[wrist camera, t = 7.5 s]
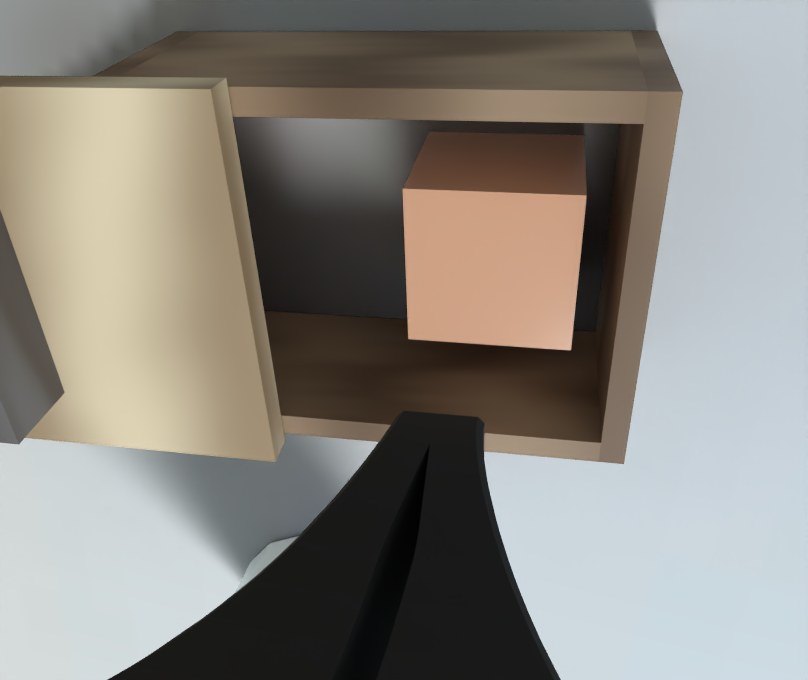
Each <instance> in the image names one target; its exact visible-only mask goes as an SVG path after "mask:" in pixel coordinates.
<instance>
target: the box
mask: <svg viewBox="0 0 808 680" xmlns="http://www.w3.org/2000/svg"><path fill="white" fill-rule="evenodd" d="M92 77H192V78H226V80H227V86H228V92H229V98H230V104H231V110H232V117H283V118H338V119H394V120H449V121H504V122H560V123H615V124H620V128H619V137H618V145H617V154H616V162H615V171H614V179H613V188H612V197H611V205H610V214H609V222H608V231H607V239H606V248H605V256H604V265H603V273H602V282H601V291H600V299H599V308H598V316H597V325H596V332H594V331H578V330H573V336H572V345H571V350H557V349H543V348H528V347H514V346H500V345H486V344H471V343H457V342H443V341H429V340H415V339H408V320H402V319H386V318H370V317H355V316H339V315H323V314H307V313H291V312H275V311H264V314H265V320H266V326H267V333H268V339H269V345H270V351H271V357H272V363H273V370H274V376H275V382H276V388H277V394H278V400H279V407H280V413H281V419H282V425H283V431H284V433H287V434H298V435H309V436H320V437H331V438H343V439H354V440H365V441H376V442H379V441H380V440H381V439H382V437H383V436H384V434H385V433H386V431H387V430H388V428H389V427H390V426H391V424H392V422H393V421H394V419H395V418H396V416H397V415H398V414H400V413H401V412H402V411H415V412H426V413H438V414H450V415H462V416H473V417H479V418H480V419H481V420H482V421H483V422H484V423H485V435H484V451H486V452H497V453H508V454H519V455H530V456H541V457H552V458H564V459H575V460H586V461H597V462H608V463H619V464H624V459H625V453H626V447H627V440H628V434H629V428H630V421H631V415H632V409H633V402H634V396H635V390H636V384H637V377H638V371H639V365H640V358H641V352H642V346H643V339H644V333H645V327H646V321H647V314H648V308H649V302H650V295H651V289H652V283H653V277H654V270H655V264H656V258H657V251H658V245H659V239H660V232H661V226H662V220H663V214H664V207H665V201H666V195H667V188H668V182H669V176H670V169H671V163H672V157H673V151H674V144H675V138H676V132H677V125H678V119H679V113H680V106H681V100H682V94H683V91H682V89H681V86H680V84H679V81H678V79H677V77H676V74H675V72H674V69H673V67H672V65H671V62H670V60H669V57H668V55H667V53H666V50H665V48H664V45H663V43H662V41H661V38H660V36H659V33H658V31H280V32H176V33H174V34H172V35H170V36H168V37H166V38H164V39H163V40H161V41H159V42H157V43H155V44H153V45H151V46H149V47H147V48H145V49H144V50H142V51H140V52H138V53H136V54H134V55H132V56H130V57H128V58H126V59H125V60H123V61H121V62H119V63H117V64H115V65H113V66H111V67H109V68H108V69H106V70H104V71H102V72H100V73H98V74H96V75H94V76H92Z"/></svg>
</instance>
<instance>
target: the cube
mask: <svg viewBox="0 0 808 680" xmlns="http://www.w3.org/2000/svg"><path fill="white" fill-rule="evenodd" d="M586 198H587V190H586V164H585V139H584V135H555V134H513V133H471V132H429V133H428V135H427V137H426V140H425V142H424V144H423V146H422V148H421V150H420V152H419V155H418V157H417V159H416V161H415V163H414V165H413V167H412V170H411V172H410V174H409V176H408V178H407V180H406V182H405V185H404V187H403V213H404V239H405V265H406V291H407V317H408V339H415V340H429V341H443V342H457V343H471V344H486V345H500V346H514V347H528V348H543V349H557V350H571V345H572V336H573V326H574V316H575V306H576V296H577V286H578V277H579V267H580V257H581V247H582V237H583V227H584V218H585V208H586Z"/></svg>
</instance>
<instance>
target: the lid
mask: <svg viewBox="0 0 808 680" xmlns="http://www.w3.org/2000/svg"><path fill="white" fill-rule="evenodd" d="M24 438H33V439H43V440H53V441H64V442H74V443H84V444H95V445H105V446H115V447H125V448H136V449H146V450H156V451H166V452H177V453H187V454H197V455H208V456H218V457H228V458H238V459H249V460H259V461H269V462H276V460H277V458H278V456H279V454H280V452H281V450H282V447H283V445H284V443H285V437H284V431H283V425H282V419H281V413H280V407H279V400H278V394H277V388H276V382H275V376H274V370H273V363H272V357H271V351H270V345H269V339H268V333H267V326H266V320H265V314H264V308H263V302H262V296H261V289H260V283H259V277H258V271H257V265H256V258H255V252H254V246H253V240H252V234H251V228H250V221H249V215H248V209H247V203H246V197H245V191H244V184H243V178H242V172H241V166H240V160H239V154H238V147H237V141H236V135H235V129H234V123H233V117H232V110H231V104H230V98H229V92H228V86H227V80H226V78H192V77H82V76H0V442H1V443H11V444H20V442H21V441H22V440H23V439H24Z"/></svg>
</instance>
